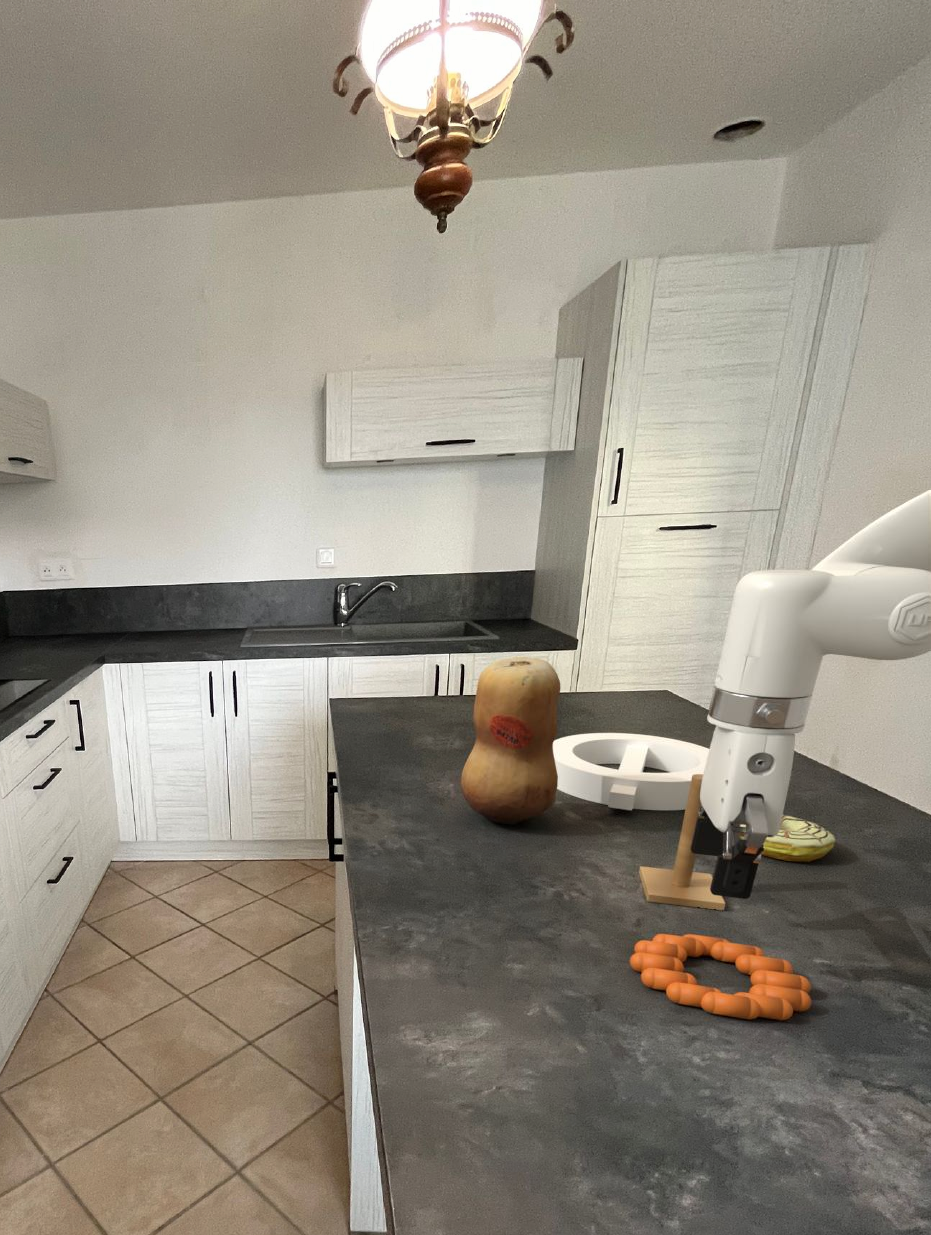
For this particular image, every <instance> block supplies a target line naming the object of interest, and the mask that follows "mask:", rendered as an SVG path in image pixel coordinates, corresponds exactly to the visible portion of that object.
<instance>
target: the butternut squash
mask: <svg viewBox="0 0 931 1235" xmlns="http://www.w3.org/2000/svg"><path fill="white" fill-rule="evenodd" d="M560 693H561V681H560V678H559V676H558V673H557V671H556V669H555V668H554V667H553V666H552V664H551V663H549V662H548V661H547V660H544V659H541V658H537V657H536V658H534V657H528V656H516V657H509V658H504V659H500V660H496V661H495V662H493V663H491V664H490V665H488V666H487V667H485V668H484V670H482V672H481V673H480V675H479V678H478V681H477V686H476V692H475V699H474V706H473V726H474V731H475V741H474V745H473V748H472V750H471V751H470V753H469V754H468V757H467V759H466V762H465V764H464V766H463V769H462V772H461V777H460V789H461V793H462V796H463V798H464V800H465V801H466V803H467V804H468V806H469V807H470V808H471V809H472V810H473V811H474V812H475V813H478V814H479V815H481V816H483V817H485V818H487V819H488V820H489V821H490V822H494V823H497V824H503V825H515V824H517V823H520V822H522V821H525V820H528V819H531V818H534V817H535V818H536V817H539V816H542V815H543V814H544V813H545V812H546V811H548V810H549V809H550V808H552V806H553V805H555V804H556V793H557V790H558V789H557V786H558V775H557V769H556V764H555V759H554V754H553V742H554V741H555V740H556V738H557V736H558V724H557V715H558V714H557V708H558V701H559V696H560Z"/></svg>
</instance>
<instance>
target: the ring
mask: <svg viewBox="0 0 931 1235" xmlns="http://www.w3.org/2000/svg"><path fill="white" fill-rule="evenodd" d="M633 950H634V953H633V954H632V955H631V956H630V959H629V965H630V967H631V968H632V970H634V971H636V972H637V973H641V974H640V979H641V982H642V984H643V985H644V986H645V987H647V988H649V989H654V990H659V991H665V993H666V996H667V998H668V999H669V1000H670V1001H671V1002H672V1003H674V1004H678V1005H683V1006H690V1007H696V1008H701V1009H702V1010H703V1011H705V1012H707V1013H709V1014H714V1015H719V1016H725V1017H732V1018H738V1019H745V1020H754V1019H757V1018H764V1019H771V1020H777V1021H785V1020H788V1019H790V1018H791V1017H792V1015H793V1013H794V1012H805V1011H807V1010H809V1009H810V1007H811V1005H812V998H811V996H810V995H809V993H810V991H811V990H812V985H811V982H810V981H809V979H808V978H807V977H805V976H803V975H801V974H795V973H794V967H793V965H792V963H791V962H789V961H788V960H786V959H784V958H783V959H782V958H776V957H769V956H766V955H765V953H764V951H763V950H762V949H761V948H760V947H758V946H755V945H749V944H742V943H735V942H731V941H729V940H728V939H725V938H722V937H715V936H714V937H713V936H707V935H700V934H692V933H688V934H687V933H686V934H684V935H675V934H668V933H659V934H656V935H654V937H653V938H652V940H646V939H643V940H642V939H641V940H639V941H637V942H636V944H635V945H634V949H633ZM701 956H708V957H711V958H713V959H714V960H716V961H718V962H726V963H733V964H735V968H736V970H738V971H739V972H740V973H741V974H744V975H749V976H750V978H749V979H750V983H751V985H752V986H751V987H750V988H749V991H748V992H746V991H745V992H744V991H742V992H741V991H738V992H735V993H734V994H731V993H725V992H722V991H721V989H718V988H716V987H712V986H705V985H699V984H698V981H697V979H696V977H695V976H694V975H692V974H691V973H688V972H684V971H685V966H684V964H683V963H684V962H685V961H686V960H687V958H688V957H691V958H697V957H698V958H699V957H701Z"/></svg>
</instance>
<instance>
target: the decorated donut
mask: <svg viewBox="0 0 931 1235" xmlns="http://www.w3.org/2000/svg"><path fill="white" fill-rule="evenodd" d="M739 827H746V825H742V824H739ZM740 839H742V840H744V837H741V836H739V840H740ZM835 842H836V837H835V835H834V834H833V833H831V832H830V831H829V830H827V829H825V828H824V827H822V826H820V825H819V824H817V823H814V822H813V821H811V820H808V819H803V818H798V817H794V816H790V815H785V814H783V815H782V820H781V824H780V829H779V832H778V834H777V835H776V836H774V837H772V838H771V837H767V838H766V840H765V842H764V843H763V845H764V847H763V848H764V851H763V852H761V856H764V857H767V858H770V859H776V860H782V861H786V862H795V863H803V862H804V863H810V862H812V861H816V860H818V859H821V858H823V857H825V856H826V855H827V854H829V852H830V851H831V850H832V849H834V846H835Z"/></svg>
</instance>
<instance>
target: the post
mask: <svg viewBox="0 0 931 1235" xmlns="http://www.w3.org/2000/svg"><path fill="white" fill-rule="evenodd" d="M702 779H703V774H695V775H692V779H691V784H690V789H689V794H688V799H687V805H686V810H684V815H683V820H682V826H681V830H680V835H679V840H678V846H677V851H676V855H675V861H674V866H673V869H669V868H658V867H650V866H641V865H640V866H639V870H638V875H639V878H640V880H641V884H642V887H643V891H644V894H645V898H646V901H647V902H649V903H657V904H665V905H666V904H667V905H673V906H681V907H689V908H697V907H700V908H699V909H706V908H707V910H714V909H716V910H715V911H722V910H723V912H724V911H725V908H726V901H725V899H724V898H723V897H724V896H718V895H713V894H712V893H711V891H710V887H711V883H712V879H713V875H712V874H711V873H706V872H705V873H704V872H698V871H697V872H696V871H694V869H695V864H696V858H697V854H694V853H692V851H691V844H692V839H693V835H694V830H695V826H696V821H697V817H699V818H704V817H700V816H699V808H700V806H701V800H700V791H701V784H702Z"/></svg>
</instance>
